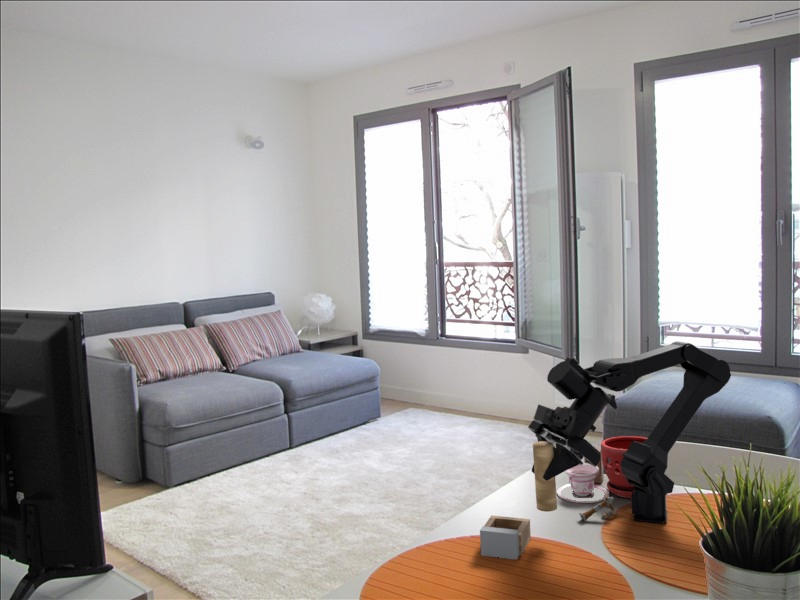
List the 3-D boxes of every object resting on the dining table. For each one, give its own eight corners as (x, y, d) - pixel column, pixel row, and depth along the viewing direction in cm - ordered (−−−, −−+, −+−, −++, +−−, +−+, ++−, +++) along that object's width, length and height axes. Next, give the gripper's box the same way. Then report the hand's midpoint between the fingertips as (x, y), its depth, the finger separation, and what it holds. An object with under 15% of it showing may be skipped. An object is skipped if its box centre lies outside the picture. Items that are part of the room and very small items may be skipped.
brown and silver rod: (622, 513, 146) (613, 495, 146) (590, 533, 145) (581, 515, 145) (618, 510, 148) (609, 493, 147) (587, 529, 147) (578, 512, 146)
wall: (519, 555, 132) (518, 530, 131) (517, 559, 130) (515, 534, 129) (484, 551, 134) (482, 526, 134) (481, 555, 132) (479, 530, 132)
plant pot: (671, 489, 160) (670, 439, 159) (645, 506, 151) (643, 453, 150) (619, 478, 170) (618, 431, 169) (592, 494, 161) (590, 444, 160)
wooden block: (601, 483, 167) (600, 451, 166) (585, 482, 169) (583, 450, 168) (603, 478, 171) (602, 446, 170) (587, 477, 172) (586, 445, 172)
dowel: (560, 505, 138) (556, 442, 137) (551, 512, 135) (547, 448, 134) (542, 502, 140) (538, 440, 139) (533, 509, 137) (529, 446, 136)
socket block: (530, 538, 139) (529, 519, 138) (521, 555, 131) (520, 535, 131) (492, 534, 142) (491, 515, 142) (481, 550, 134) (480, 530, 134)
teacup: (575, 482, 169) (574, 457, 169) (619, 493, 161) (618, 467, 160) (546, 496, 161) (545, 470, 161) (591, 508, 153) (590, 481, 152)
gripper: (533, 381, 146) (490, 441, 143) (583, 398, 128) (535, 466, 125) (567, 412, 149) (526, 471, 146) (621, 432, 131) (575, 499, 129)
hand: (538, 476), depth 137 cm, fingers closed on dowel, 4 cm apart
